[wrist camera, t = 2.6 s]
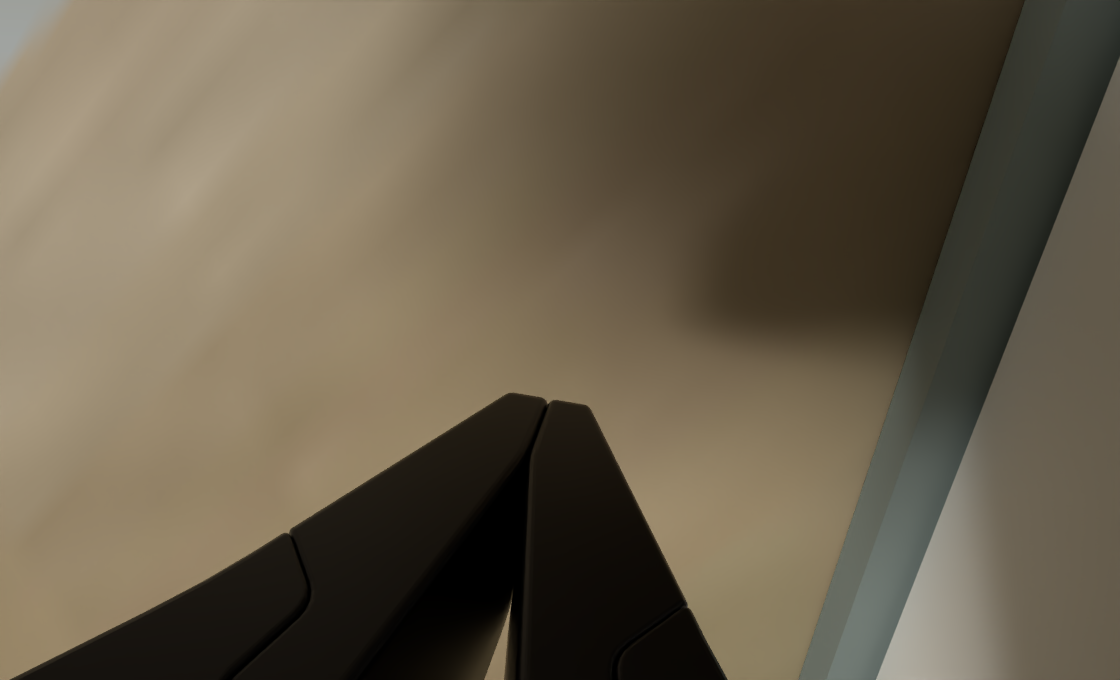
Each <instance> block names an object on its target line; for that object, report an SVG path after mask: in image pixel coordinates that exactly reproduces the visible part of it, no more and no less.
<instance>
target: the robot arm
mask: <svg viewBox="0 0 1120 680" xmlns="http://www.w3.org/2000/svg"><path fill="white" fill-rule="evenodd" d="M511 600H512V604H511ZM510 604H511V612H510V621H509V630H508V641H507V652H506V664H505V675H504V680H728V679H727V678H726V676H725V674H724V672H723V670H722V669H721V667H720V665H719V663H718V661H717V659H716V658H715V656H714V654H713V652H712V650H711V648H710V647H709V645H708V643H707V641H706V639H705V637H704V635H703V633H702V631H701V629H700V627H699V625H698V623H697V621H696V619H695V617H694V615H693V613H692V611H691V610H690V609H689V608H687V607H688V604H687V602H686V600H685V598H684V596H683V594H682V592H681V590H680V588H679V586H678V584H677V582H676V579H675V577H674V575H673V573H672V571H671V569H670V567H669V565H668V563H667V561H666V559H665V557H664V555H663V553H662V551H661V549H660V547H659V545H658V543H657V541H656V539H655V537H654V535H653V533H652V531H651V529H650V527H649V525H648V523H647V521H646V519H645V517H644V515H643V513H642V511H641V509H640V507H639V505H638V503H637V501H636V499H635V497H634V495H633V493H632V491H631V489H630V487H629V485H628V483H627V481H626V479H625V477H624V475H623V473H622V471H621V469H620V467H619V465H618V463H617V461H616V459H615V457H614V455H613V453H612V451H611V449H610V447H609V445H608V443H607V441H606V439H605V437H604V435H603V433H602V431H601V429H600V427H599V425H598V423H597V421H596V419H595V417H594V415H593V413H592V411H591V409H590V408H589V407H588V406H586V405H583V404H577V403H571V402H565V401H559V400H553V401H551V402H550V403H549V404H547V401H546V400H545V399H543V398H541V397H535V396H530V395H524V394H518V393H508V394H506V395H504V396H502V397H501V398H499V399H498V400H496V401H494V402H493V403H491V404H490V405H488V406H486V407H485V408H483V409H482V410H480V411H478V412H477V413H475V414H474V415H472V416H470V417H469V418H467V419H466V420H464V421H462V422H461V423H459V424H458V425H456V426H454V427H453V428H451V429H450V430H448V431H446V432H445V433H443V434H442V435H440V436H438V437H437V438H435V439H434V440H432V441H430V442H429V443H427V444H426V445H424V446H422V447H421V448H419V449H418V450H416V451H414V452H413V453H411V454H410V455H408V456H406V457H405V458H403V459H402V460H400V461H398V462H397V463H395V464H394V465H392V466H390V467H389V468H387V469H386V470H384V471H382V472H381V473H379V474H378V475H376V476H374V477H373V478H371V479H370V480H368V481H366V482H365V483H363V484H362V485H360V486H358V487H357V488H355V489H354V490H352V491H350V492H349V493H347V494H346V495H344V496H342V497H341V498H339V499H338V500H336V501H335V502H333V503H331V504H330V505H328V506H327V507H325V508H323V509H322V510H320V511H319V512H317V513H315V514H314V515H312V516H311V517H309V518H307V519H306V520H304V521H303V522H301V523H299V524H298V525H296V526H295V527H293V528H292V529H291V530H290V532H289V534H288V533H283V534H281V535H280V536H278V537H276V538H275V539H273V540H272V541H270V542H268V543H267V544H265V545H264V546H262V547H260V548H259V549H257V550H256V551H254V552H252V553H251V554H249V555H247V556H246V557H244V558H242V559H240V560H239V561H237V562H235V563H234V564H232V565H230V566H229V567H227V568H225V569H223V570H222V571H220V572H218V573H217V574H215V575H213V576H212V577H210V578H208V579H206V580H205V581H203V582H201V583H199V584H197V585H195V586H193V587H192V588H190V589H188V590H186V591H184V592H182V593H180V594H178V595H176V596H174V597H173V598H171V599H169V600H167V601H165V602H163V603H161V604H159V605H157V606H156V607H154V608H152V609H150V610H148V611H146V612H144V613H142V614H140V615H138V616H136V617H134V618H132V619H130V620H128V621H126V622H124V623H122V624H120V625H118V626H116V627H114V628H112V629H110V630H108V631H106V632H104V633H102V634H100V635H98V636H96V637H94V638H92V639H90V640H88V641H86V642H84V643H82V644H80V645H78V646H76V647H74V648H72V649H70V650H68V651H66V652H64V653H62V654H60V655H58V656H56V657H54V658H52V659H50V660H48V661H46V662H44V663H42V664H40V665H38V666H36V667H34V668H32V669H30V670H28V671H26V672H24V673H22V674H20V675H18V676H16V677H14V678H12V679H10V680H484V678H485V676H486V673H487V670H488V667H489V665H490V662H491V659H492V657H493V654H494V651H495V649H496V646H497V643H498V641H499V638H500V635H501V632H502V629H503V626H504V623H505V621H506V618H507V615H508V612H509V608H510Z"/></svg>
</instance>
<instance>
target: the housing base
mask: <svg viewBox="0 0 1120 680" xmlns="http://www.w3.org/2000/svg"><path fill="white" fill-rule="evenodd" d="M1119 57H1120V0H1025V2H1024V5H1023V8H1022V11H1021V14H1020V17H1019V20H1018V23H1017V26H1016V29H1015V32H1014V35H1013V38H1012V41H1011V44H1010V47H1009V50H1008V53H1007V56H1006V59H1005V62H1004V65H1003V68H1002V71H1001V74H1000V77H999V80H998V83H997V86H996V89H995V92H994V95H993V98H992V101H991V104H990V107H989V110H988V113H987V116H986V119H985V122H984V125H983V128H982V131H981V134H980V137H979V140H978V143H977V146H976V149H975V152H974V155H973V158H972V161H971V164H970V167H969V170H968V173H967V176H966V179H965V182H964V185H963V188H962V191H961V194H960V197H959V200H958V203H957V206H956V209H955V212H954V215H953V218H952V221H951V224H950V227H949V230H948V233H947V236H946V239H945V242H944V245H943V248H942V251H941V254H940V257H939V260H938V263H937V266H936V269H935V272H934V275H933V278H932V281H931V284H930V287H929V290H928V293H927V296H926V299H925V302H924V305H923V308H922V311H921V314H920V317H919V320H918V323H917V326H916V329H915V332H914V335H913V338H912V341H911V344H910V347H909V350H908V353H907V356H906V359H905V362H904V365H903V368H902V371H901V374H900V377H899V380H898V383H897V386H896V389H895V392H894V395H893V398H892V401H891V404H890V407H889V410H888V413H887V416H886V419H885V422H884V425H883V428H882V431H881V434H880V437H879V440H878V443H877V446H876V449H875V452H874V455H873V458H872V461H871V464H870V467H869V470H868V473H867V476H866V479H865V482H864V485H863V488H862V491H861V494H860V497H859V500H858V503H857V506H856V509H855V512H854V515H853V518H852V521H851V524H850V527H849V530H848V533H847V536H846V539H845V542H844V545H843V548H842V551H841V554H840V557H839V560H838V563H837V566H836V569H835V572H834V575H833V578H832V581H831V584H830V587H829V590H828V593H827V596H826V599H825V602H824V605H823V608H822V611H821V614H820V617H819V620H818V623H817V626H816V629H815V632H814V635H813V638H812V641H811V644H810V647H809V650H808V653H807V656H806V659H805V662H804V665H803V668H802V671H801V674H800V677H799V680H876V678H877V676H878V673H879V671H880V668H881V666H882V663H883V661H884V658H885V655H886V653H887V650H888V648H889V645H890V643H891V640H892V637H893V635H894V632H895V630H896V627H897V625H898V622H899V620H900V617H901V614H902V612H903V609H904V607H905V604H906V602H907V599H908V597H909V594H910V591H911V589H912V586H913V584H914V581H915V579H916V576H917V574H918V571H919V568H920V566H921V563H922V561H923V558H924V556H925V553H926V551H927V548H928V545H929V543H930V540H931V538H932V535H933V533H934V530H935V528H936V525H937V522H938V520H939V517H940V515H941V512H942V510H943V507H944V504H945V502H946V499H947V497H948V494H949V492H950V489H951V487H952V484H953V481H954V479H955V476H956V474H957V471H958V469H959V466H960V464H961V461H962V458H963V456H964V453H965V451H966V448H967V446H968V443H969V441H970V438H971V435H972V433H973V430H974V428H975V425H976V423H977V420H978V418H979V415H980V412H981V410H982V407H983V405H984V402H985V400H986V397H987V395H988V392H989V389H990V387H991V384H992V382H993V379H994V377H995V374H996V372H997V369H998V366H999V364H1000V361H1001V359H1002V356H1003V354H1004V351H1005V348H1006V346H1007V343H1008V341H1009V338H1010V336H1011V333H1012V331H1013V328H1014V325H1015V323H1016V320H1017V318H1018V315H1019V313H1020V310H1021V308H1022V305H1023V302H1024V300H1025V297H1026V295H1027V292H1028V290H1029V287H1030V285H1031V282H1032V279H1033V277H1034V274H1035V272H1036V269H1037V267H1038V264H1039V262H1040V259H1041V256H1042V254H1043V251H1044V249H1045V246H1046V244H1047V241H1048V239H1049V236H1050V233H1051V231H1052V228H1053V226H1054V223H1055V221H1056V218H1057V216H1058V213H1059V210H1060V208H1061V205H1062V203H1063V200H1064V198H1065V195H1066V192H1067V190H1068V187H1069V185H1070V182H1071V180H1072V177H1073V175H1074V172H1075V169H1076V167H1077V164H1078V162H1079V159H1080V157H1081V154H1082V152H1083V149H1084V146H1085V144H1086V141H1087V139H1088V136H1089V134H1090V131H1091V129H1092V126H1093V123H1094V121H1095V118H1096V116H1097V113H1098V111H1099V108H1100V106H1101V103H1102V100H1103V98H1104V95H1105V93H1106V90H1107V88H1108V85H1109V83H1110V80H1111V77H1112V75H1113V72H1114V70H1115V67H1116V65H1117V62H1118V59H1119Z"/></svg>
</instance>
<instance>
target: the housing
mask: <svg viewBox="0 0 1120 680" xmlns="http://www.w3.org/2000/svg"><path fill="white" fill-rule="evenodd" d="M876 680H1120V57H1119V59H1118V62H1117V65H1116V67H1115V70H1114V72H1113V75H1112V77H1111V80H1110V83H1109V85H1108V88H1107V90H1106V93H1105V95H1104V98H1103V100H1102V103H1101V106H1100V108H1099V111H1098V113H1097V116H1096V118H1095V121H1094V123H1093V126H1092V129H1091V131H1090V134H1089V136H1088V139H1087V141H1086V144H1085V146H1084V149H1083V152H1082V154H1081V157H1080V159H1079V162H1078V164H1077V167H1076V169H1075V172H1074V175H1073V177H1072V180H1071V182H1070V185H1069V187H1068V190H1067V192H1066V195H1065V198H1064V200H1063V203H1062V205H1061V208H1060V210H1059V213H1058V216H1057V218H1056V221H1055V223H1054V226H1053V228H1052V231H1051V233H1050V236H1049V239H1048V241H1047V244H1046V246H1045V249H1044V251H1043V254H1042V256H1041V259H1040V262H1039V264H1038V267H1037V269H1036V272H1035V274H1034V277H1033V279H1032V282H1031V285H1030V287H1029V290H1028V292H1027V295H1026V297H1025V300H1024V302H1023V305H1022V308H1021V310H1020V313H1019V315H1018V318H1017V320H1016V323H1015V325H1014V328H1013V331H1012V333H1011V336H1010V338H1009V341H1008V343H1007V346H1006V348H1005V351H1004V354H1003V356H1002V359H1001V361H1000V364H999V366H998V369H997V372H996V374H995V377H994V379H993V382H992V384H991V387H990V389H989V392H988V395H987V397H986V400H985V402H984V405H983V407H982V410H981V412H980V415H979V418H978V420H977V423H976V425H975V428H974V430H973V433H972V435H971V438H970V441H969V443H968V446H967V448H966V451H965V453H964V456H963V458H962V461H961V464H960V466H959V469H958V471H957V474H956V476H955V479H954V481H953V484H952V487H951V489H950V492H949V494H948V497H947V499H946V502H945V504H944V507H943V510H942V512H941V515H940V517H939V520H938V522H937V525H936V528H935V530H934V533H933V535H932V538H931V540H930V543H929V545H928V548H927V551H926V553H925V556H924V558H923V561H922V563H921V566H920V568H919V571H918V574H917V576H916V579H915V581H914V584H913V586H912V589H911V591H910V594H909V597H908V599H907V602H906V604H905V607H904V609H903V612H902V614H901V617H900V620H899V622H898V625H897V627H896V630H895V632H894V635H893V637H892V640H891V643H890V645H889V648H888V650H887V653H886V655H885V658H884V661H883V663H882V666H881V668H880V671H879V673H878V676H877V678H876Z"/></svg>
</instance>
